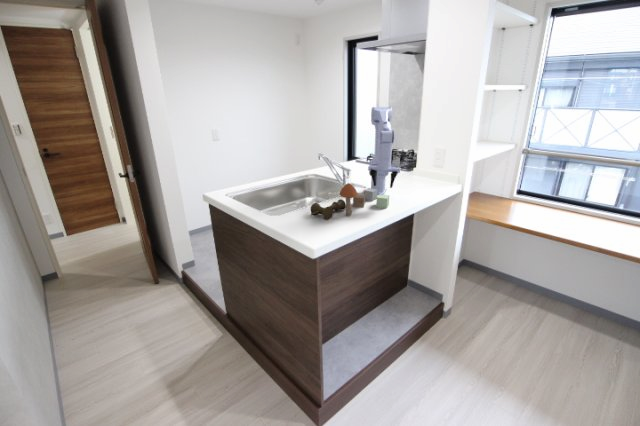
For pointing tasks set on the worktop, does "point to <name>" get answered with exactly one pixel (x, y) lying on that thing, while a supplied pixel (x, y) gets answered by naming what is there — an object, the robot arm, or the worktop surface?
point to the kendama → (327, 209)
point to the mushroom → (348, 196)
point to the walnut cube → (359, 200)
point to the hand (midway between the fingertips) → (383, 186)
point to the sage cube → (382, 201)
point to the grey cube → (370, 194)
